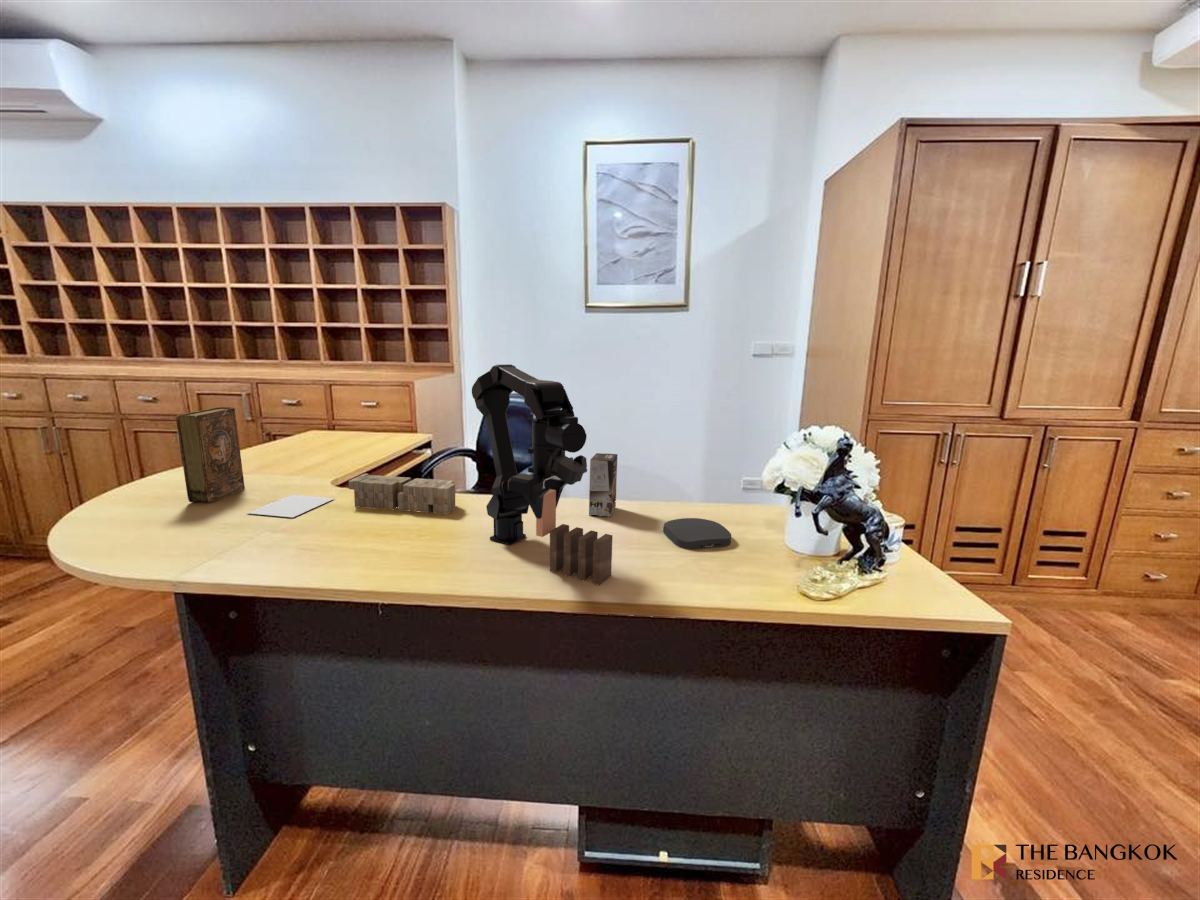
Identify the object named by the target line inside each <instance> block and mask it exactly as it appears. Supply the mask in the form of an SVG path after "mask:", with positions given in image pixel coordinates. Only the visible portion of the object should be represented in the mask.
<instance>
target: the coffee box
mask: <svg viewBox="0 0 1200 900" xmlns="http://www.w3.org/2000/svg"><path fill="white" fill-rule="evenodd" d="M589 465H590V466H589V494H588V495H589V498H588V499H589V500H588V516H591V515H601V516H612V515H613V513H614V511H615V510H614V509H616V508H615V507H617V506H616V505H617V480H618V479H617V477H618V473H617V472H618V454H616V453H606V452H605V453H600V452H599V453H598V452H597V453H595V454H594V455H593V456H592V457H591V458H590V461H589ZM615 501H616V502H615ZM613 510H614V511H613ZM612 512H613V513H612ZM611 514H612V515H611ZM601 516H600V517H601Z"/></svg>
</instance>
